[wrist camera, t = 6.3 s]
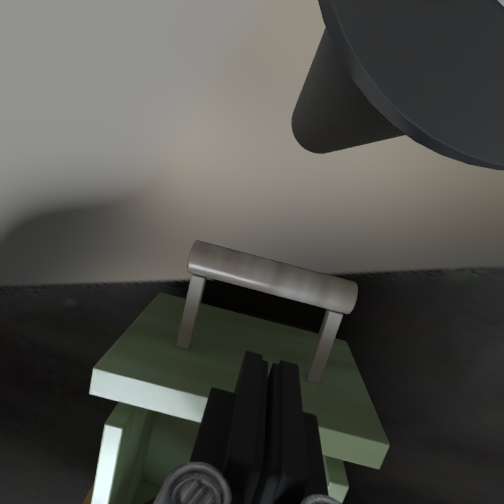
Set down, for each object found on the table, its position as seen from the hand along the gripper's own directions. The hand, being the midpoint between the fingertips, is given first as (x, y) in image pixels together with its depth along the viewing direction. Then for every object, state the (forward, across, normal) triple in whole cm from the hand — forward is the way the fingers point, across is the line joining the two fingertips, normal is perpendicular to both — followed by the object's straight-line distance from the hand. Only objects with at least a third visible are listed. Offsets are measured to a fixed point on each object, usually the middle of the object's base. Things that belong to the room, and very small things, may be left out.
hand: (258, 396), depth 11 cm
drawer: (+9, 0, +6) cm, 11 cm away
